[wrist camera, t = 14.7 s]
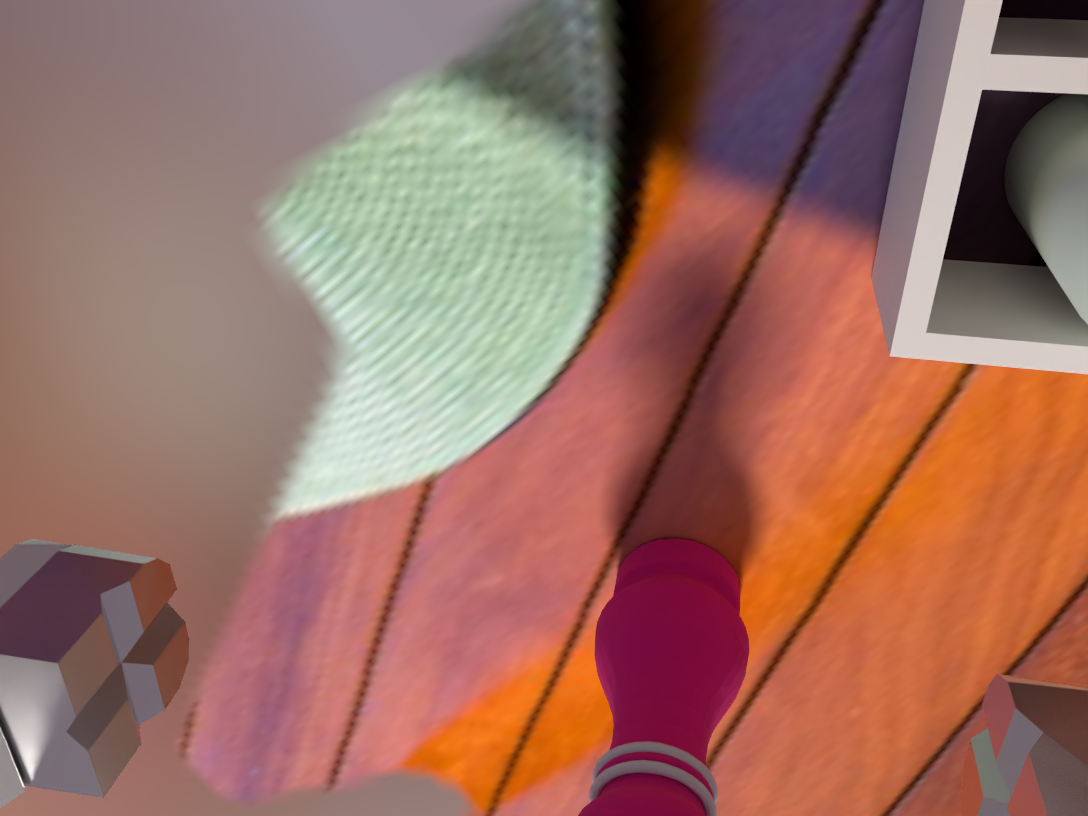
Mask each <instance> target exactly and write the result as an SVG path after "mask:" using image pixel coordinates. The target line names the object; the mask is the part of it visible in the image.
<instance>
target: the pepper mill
mask: <svg viewBox="0 0 1088 816" xmlns="http://www.w3.org/2000/svg"><path fill="white" fill-rule="evenodd" d="M739 614H740V583H739V579H738V576H737V574H736V572H735V570H734V569H733V568H732V566H731V565H730V563H729V562H728V561H727V560H726V559H725V558H724V557H723V556H722V555H721V554H719V553H718V552H716V551H715V550H713V549H712V548H710V547H709V546H706V545H703V544H701V543H698V542H696V541H693V540H686V539H679V538H671V539H658V540H655V541H651V542H648V543H646V544H643V545H641V546H640V547H638V548H636V549H635V550H634V551H632V552H631V553H630V554H629V555H628V556H627V557H626V558H625V559H624V561H623V562H622V564H621V566H620V568H619V571H618V575H617V579H616V585H615V590H614V595H613V597H612V598H611V600H610V601H609V602H608V603H607V604H606V606H605V607H604V609H603V610H602V612H601V615H600V617H599V620H598V622H597V627H596V636H595V660H596V666H597V672H598V676H599V679H600V682H601V685H602V687H603V690H604V693H605V695H606V697H607V700H608V702H609V705H610V709H611V712H612V715H613V723H614V728H613V739H612V744H611V747H610V750H609V751H608V752H607V753H605V754H604V755H603V756H602V757H601V758H600V759H599V760H598V762H597V764H596V766H595V768H594V771H593V780H592V781H593V784H592V786H591V788H590V793H589V804H588V805H587V806H586V807H584V808H583V809H582V811H581V812H580V814H579V815H578V816H716V801H717V786H716V782H715V780H714V778H713V776H712V774H711V773H710V771H709V770H708V769H707V767H706V754H707V747H708V743H709V740H710V738H711V735H712V733H713V731H714V729H715V727H716V726H717V724H718V723H719V722H720V720H721V719H722V717H723V716H724V715H725V713H726V712H727V710H728V709H729V708H730V706H731V705H732V703H733V702H734V700H735V698H736V696H737V694H738V692H739V689H740V687H741V685H742V682H743V680H744V677H745V674H746V667H747V661H748V655H749V639H748V635H747V631H746V627H745V625H744V623H743V621H742V619H741V617H740V616H739Z"/></svg>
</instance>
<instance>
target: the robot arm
mask: <svg viewBox="0 0 1088 816" xmlns="http://www.w3.org/2000/svg"><path fill="white" fill-rule="evenodd" d="M176 590H177V587H176V584H175V581H174V577H173V574H172V570H171V567H170V564H168V563H166V562H164V561H162V560H160V559H158V558H152V557H146V556H140V555H134V554H128V553H122V552H115V551H109V550H103V549H97V548H91V547H85V546H79V545H66V544H60V543H54V542H48V541H43V540H37V539H30V540H27V541H24V542H21V543H17V544H15V545H14V546H13V547H12V548H11V549H10V550H9V551H8V552H7V553H6V554H4V555H3V556H2V557H1V558H0V808H1V807H2V806H4V805H5V804H7V803H8V802H10V801H11V800H12V799H14V798H15V797H17V796H18V795H20V794H21V793H23V792H24V791H25V786H30V787H37V788H43V789H50V790H57V791H63V792H70V793H76V794H82V795H89V796H96V797H102V798H104V796H105V795H106V794H107V792H108V791H109V790H110V788H111V787H112V785H113V784H114V782H115V781H116V779H117V778H118V776H119V775H120V774H121V772H122V771H123V770H124V768H125V767H126V765H127V764H128V762H129V761H130V760H131V758H132V757H133V755H134V754H135V752H136V751H137V750H138V748H139V747H140V745H141V737H140V727H139V725H140V724H141V723H143V722H145V721H147V720H149V719H150V718H152V717H154V716H155V715H157V714H159V713H161V712H162V711H164V710H165V709H166V708H167V706H168V705H169V703H170V702H171V700H172V698H173V697H174V696H175V694H176V693H177V691H178V690H179V688H180V685H181V682H182V679H183V676H184V673H185V670H186V667H187V664H188V659H189V637H188V632H187V629H186V624H185V621H184V620H183V619H182V618H181V617H180V616H179V615H178V614H177V613H176V611H175V610H174V609H173V608H172V607H171V606H170V605H169V604H168V602H169V600H170V599H171V597H172V596H173V594H174V593H175V591H176ZM982 706H983V710H984V714H985V719H986V723H987V727H988V729H986V730H984V731H983V732H981V733H980V734H978V735H976V736H975V737H973V738H972V739H971V740H970V744H969V747H968V751H967V754H966V758H965V761H964V765H963V776H962V788H961V801H962V814H963V816H1088V686H1084V685H1076V684H1069V683H1061V682H1053V681H1046V680H1038V679H1030V678H1023V677H1015V676H1007V675H1000V674H997V675H996V676H995V678H994V679H993V680H992V681H991V683H990V684H989V686H988V689H987V692H986V695H985V698H984V700H983V703H982Z"/></svg>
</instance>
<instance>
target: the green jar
mask: <svg viewBox="0 0 1088 816" xmlns="http://www.w3.org/2000/svg"><path fill="white" fill-rule="evenodd" d="M1004 187H1005V194H1006V197H1007V201H1008V203H1009V205H1010V208H1011V210H1012V211H1013V213H1014V214H1015V216H1016V218H1017V219H1018V221H1019V222H1020V224H1021V225H1022V227H1023V228H1024V230H1025V232H1026V233H1027V235H1028V236H1029V238H1030V239H1031V241H1032V242H1033V244H1034V245H1035V247H1036V249H1037V250H1038V252H1039V253H1040V255H1041V256H1042V258H1043V259H1044V261H1045V263H1046V264H1047V266H1048V267H1049V269H1050V270H1051V272H1052V273H1053V275H1054V277H1055V278H1056V280H1057V281H1058V283H1059V284H1060V286H1061V287H1062V289H1063V290H1064V292H1065V294H1066V295H1067V297H1068V298H1069V300H1070V301H1071V303H1072V304H1073V306H1074V308H1075V309H1076V311H1077V312H1078V314H1079V315H1080V317H1081V318H1082V319H1083V320H1084V321H1085V322H1086V323H1087V324H1088V94H1069V93H1066V94H1064V95H1062V96H1060V97H1058V98H1056V99H1055V100H1053V101H1052V102H1050V103H1048V104H1047V105H1046V106H1044V107H1043V108H1042V109H1041V110H1039V111H1038V112H1037V113H1036V114H1035V115H1034V116H1033V117H1032V118H1031V119H1030V120H1029V121H1028V122H1027V123H1026V125H1025V126H1024V127H1023V128H1022V130H1021V131H1020V133H1019V134H1018V136H1017V137H1016V139H1015V141H1014V143H1013V145H1012V147H1011V149H1010V151H1009V154H1008V157H1007V160H1006V165H1005V171H1004Z"/></svg>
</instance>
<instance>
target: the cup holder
mask: <svg viewBox="0 0 1088 816" xmlns="http://www.w3.org/2000/svg"><path fill="white" fill-rule="evenodd" d="M1002 1H1003V0H924V5H923V10H922V16H921V21H920V26H919V31H918V36H917V42H916V47H915V52H914V57H913V62H912V68H911V73H910V78H909V83H908V88H907V94H906V99H905V104H904V109H903V115H902V120H901V125H900V130H899V135H898V141H897V146H896V151H895V156H894V161H893V167H892V172H891V177H890V182H889V188H888V193H887V198H886V203H885V208H884V214H883V219H882V224H881V229H880V234H879V240H878V245H877V250H876V255H875V260H874V266H873V271H872V276H871V279H872V283H873V287H874V291H875V296H876V300H877V304H878V308H879V313H880V317H881V321H882V325H883V330H884V334H885V338H886V343H887V347H888V351H889V355H890V356H893V357H904V358H915V359H926V360H937V361H948V362H959V363H970V364H981V365H992V366H1003V367H1014V368H1025V369H1036V370H1047V371H1058V372H1069V373H1080V374H1088V324H1087V323H1086V322H1085V321H1084V320H1083V319H1082V318H1081V317H1080V315H1079V314H1078V312H1077V311H1076V309H1075V308H1074V306H1073V304H1072V303H1071V301H1070V300H1069V298H1068V297H1067V295H1066V294H1065V292H1064V290H1063V289H1062V287H1061V286H1060V284H1059V283H1058V281H1057V280H1056V278H1055V277H1054V275H1053V273H1052V272H1051V270H1050V269H1049V267H1040V266H1026V265H1013V264H999V263H986V262H973V261H959V260H946V259H943V257H944V253H945V248H946V244H947V240H948V235H949V231H950V227H951V222H952V218H953V214H954V209H955V205H956V201H957V196H958V192H959V188H960V183H961V179H962V175H963V170H964V166H965V162H966V157H967V153H968V149H969V144H970V140H971V136H972V131H973V127H974V123H975V118H976V114H977V110H978V105H979V101H980V97H981V92H982V90H1004V91H1025V92H1047V93H1069V94H1088V20H1065V19H1036V18H1007V17H999V14H1000V10H1001V6H1002Z"/></svg>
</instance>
